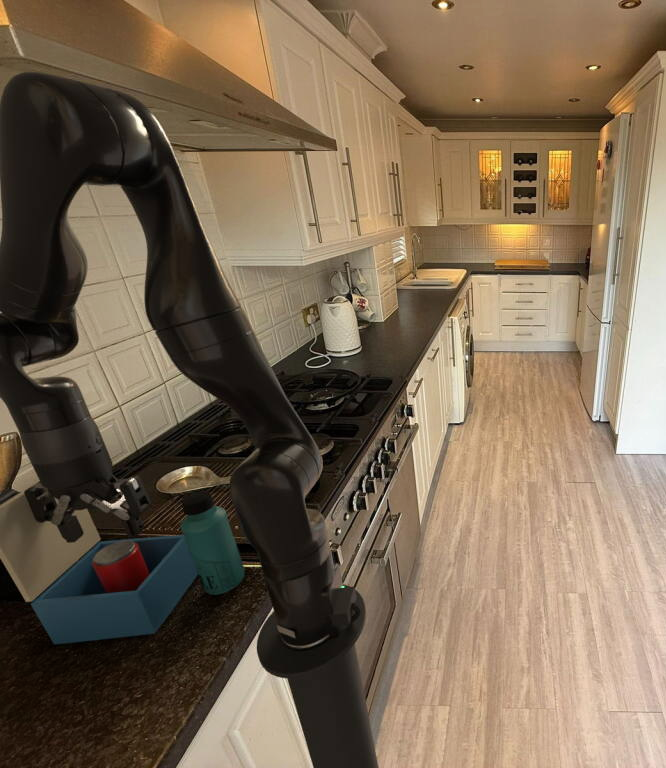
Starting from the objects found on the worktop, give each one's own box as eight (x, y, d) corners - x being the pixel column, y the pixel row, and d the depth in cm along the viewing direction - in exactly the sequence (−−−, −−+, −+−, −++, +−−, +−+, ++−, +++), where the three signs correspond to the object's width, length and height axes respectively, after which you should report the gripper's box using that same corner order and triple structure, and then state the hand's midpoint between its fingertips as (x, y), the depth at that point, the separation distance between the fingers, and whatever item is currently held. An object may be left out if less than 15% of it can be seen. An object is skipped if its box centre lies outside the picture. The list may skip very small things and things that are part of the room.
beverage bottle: (254, 570, 77) (227, 482, 70) (238, 600, 71) (207, 507, 64) (216, 575, 76) (185, 486, 69) (197, 605, 70) (161, 511, 63)
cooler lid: (67, 466, 67) (24, 468, 66) (-17, 518, 55) (-70, 522, 54) (101, 539, 72) (62, 542, 71) (32, 601, 60) (-16, 606, 60)
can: (164, 585, 73) (145, 537, 69) (143, 613, 68) (120, 562, 64) (130, 589, 73) (108, 540, 68) (105, 617, 67) (80, 566, 63)
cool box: (201, 570, 77) (188, 534, 74) (155, 633, 65) (137, 593, 62) (116, 578, 76) (99, 541, 72) (53, 644, 64) (30, 604, 60)
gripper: (-17, 465, 55) (33, 558, 61) (102, 459, 57) (139, 550, 63) (35, 438, 62) (76, 524, 68) (140, 433, 64) (170, 517, 70)
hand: (106, 536), depth 65 cm, fingers open, 8 cm apart
